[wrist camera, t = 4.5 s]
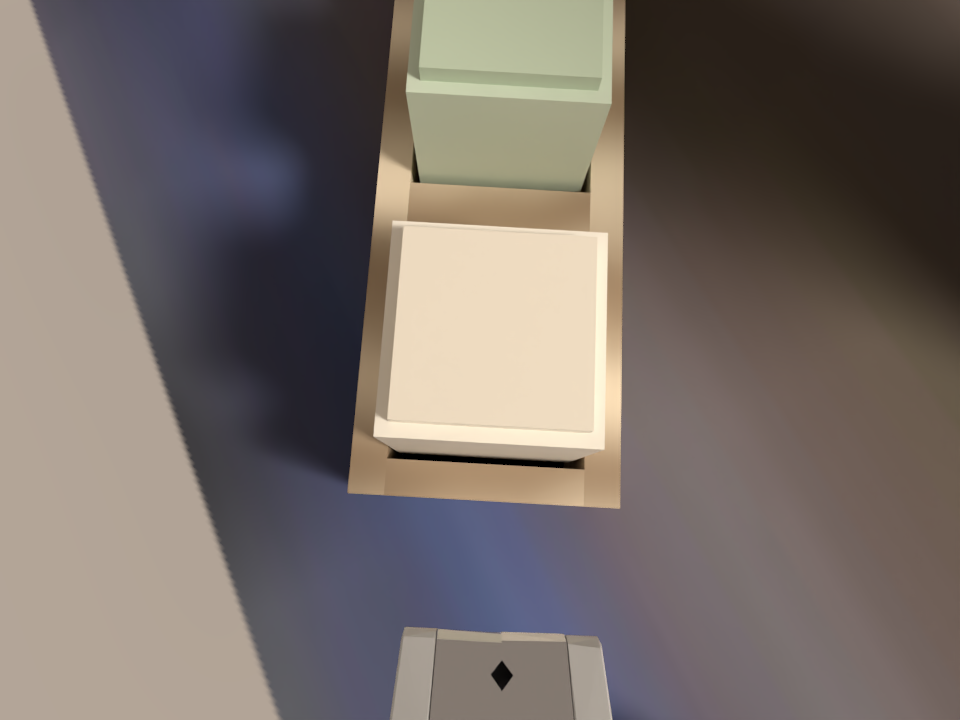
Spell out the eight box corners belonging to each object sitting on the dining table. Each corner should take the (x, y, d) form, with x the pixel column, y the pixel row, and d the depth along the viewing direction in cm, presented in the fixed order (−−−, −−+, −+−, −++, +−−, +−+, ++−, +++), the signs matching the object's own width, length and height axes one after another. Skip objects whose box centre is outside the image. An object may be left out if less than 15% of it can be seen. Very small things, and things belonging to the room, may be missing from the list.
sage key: (576, 203, 25) (616, 91, 18) (422, 193, 25) (403, 78, 18) (579, 66, 26) (618, -87, 20) (432, 58, 26) (419, -98, 20)
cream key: (567, 462, 23) (609, 447, 16) (400, 453, 23) (369, 434, 16) (572, 301, 24) (612, 224, 17) (412, 292, 24) (389, 211, 17)
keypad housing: (592, 506, 26) (620, 508, 21) (370, 493, 26) (347, 492, 21) (603, -90, 32) (627, -195, 27) (423, -101, 32) (414, -207, 27)
